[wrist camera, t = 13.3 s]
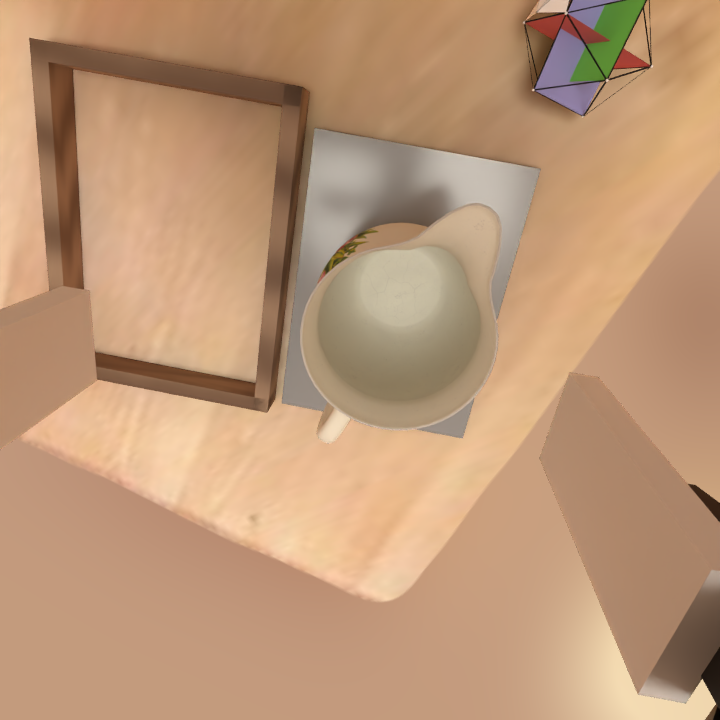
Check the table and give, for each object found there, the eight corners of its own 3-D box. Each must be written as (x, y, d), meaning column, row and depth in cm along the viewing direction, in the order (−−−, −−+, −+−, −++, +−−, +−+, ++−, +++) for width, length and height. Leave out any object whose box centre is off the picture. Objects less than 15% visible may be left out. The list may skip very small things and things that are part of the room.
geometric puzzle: (692, 18, 29) (673, -62, 23) (628, 137, 31) (596, 95, 25) (579, 4, 32) (537, -68, 26) (531, 111, 35) (482, 69, 29)
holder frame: (54, 46, 34) (29, 37, 32) (309, 92, 34) (302, 86, 32) (74, 360, 44) (55, 371, 41) (274, 399, 43) (267, 412, 41)
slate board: (316, 128, 35) (314, 127, 34) (537, 168, 34) (540, 168, 34) (283, 399, 43) (281, 403, 42) (461, 433, 43) (462, 438, 42)
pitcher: (281, 354, 41) (223, 439, 28) (394, 151, 34) (386, 141, 21) (393, 417, 42) (387, 526, 29) (522, 233, 35) (588, 269, 23)
